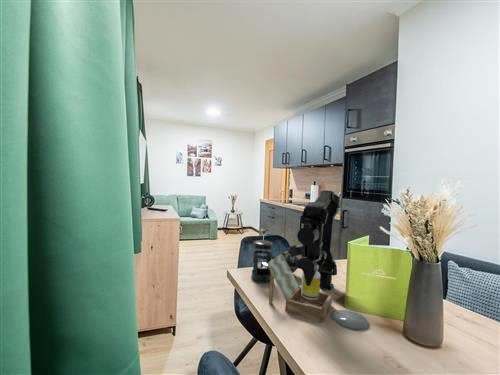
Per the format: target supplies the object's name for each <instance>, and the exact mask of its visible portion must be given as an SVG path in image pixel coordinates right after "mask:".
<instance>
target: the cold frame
mask: <svg viewBox="0 0 500 375" xmlns="http://www.w3.org/2000/svg"><path fill="white" fill-rule="evenodd" d="M267 265H268V267H269V269H270V271H271V277H270V282H269V283H270V284H269V296H268V297H269V298H268V304H269V305H272V304H273V300H274V288H275V287H274V286H275V285H274V284H275V283H276V285H277V287H278V289H279V291H280V292H281V294H282V296H283V299H284V300H285V307H284V308H285V309H284V311H285V312H287V313H290V314H293V315H296V316H300V317H303V318H306V319H310V320H312V321H315V322H318V323H322V324H323V323H324V321H325V320H326V317H327V315H328V313H329V311H330V309H331V307H332V304H333V295H332V294H329V293H326V292H321V291H320V292H319V298H318V299H315V300H310V299H306V298H304V297H303V296H302V295H301V286H300V285H299V283H298V281H297V279H296V276H295V277H294V275H293V274H294V273H292V271H291V269H290V268H289V266H288V264H287V262H286V260H285V258H284V256H283V254H282V253H280V254H279V255H278V256H275V258H274V259H273V260H272V259H271V261H269V262H268V263H267ZM299 299H303V300H305V301H310V302H313V303H316V304H321V305H322V306H321V308H320V307H316V306H313V305H309V304H306V303H302V302H299V301H298V300H299Z"/></svg>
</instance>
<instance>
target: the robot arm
mask: <svg viewBox="0 0 500 375" xmlns="http://www.w3.org/2000/svg"><path fill="white" fill-rule="evenodd" d="M341 206H342V200H341V197H340V196H338V194H336V193H335V192H334V191H333V190H325V189H324V190H321V191H320V194H319V195H318V197H317V198H316V200H315V201H312V202H309V203H307V204H306V206H304V209H303V212H302V215H301V218H300V222H299V223H300V224H301V225H302V224H303V227H301V228H300V229H299V230H298V232H297V233H296V234H297V235H296V237H297V240H298V241H299V243H300V244H297V245H295V244H294V245H290V246H289V248H287V249H288V251H287V252H288V253H289V254H290V255H291V257H294V256H297V257H299V256H301V258H298V259H299V260H298V261H297V262H296V268H297V269H301V271H302V272H304V276H305V281H306V285H307V286H310V284H311V282H312V280H313V278H314V275H315V273H316V271H318V272H319V273H320V288H321V289H324V290H328V291H331V290H332V289H333V287H334V283H332V282H333V281H332V279H333V276H337V275H338V268H337V262H336V261H335V259H336V258H335V255H334V252H333V251H332V249H333V240H334V238H333V237H334V228H335V227H334V226H335V217H337V215H338V214H339V212H340V209H341ZM317 264H318V270H317Z"/></svg>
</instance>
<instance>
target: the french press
mask: <svg viewBox="0 0 500 375" xmlns="http://www.w3.org/2000/svg"><path fill="white" fill-rule="evenodd" d="M259 231H261V232H262V234H263V237H262V239H261V240H259V239H258V240H257V239H256V240H253V244H254V248H255V249H256V250H254V251H253V252H252V257H253V264H252V266H253V267H252V270H251V276H250V279H251V281H253V282H255V283H261V284H266V283H270V277H271V271H270V269H269V267H268V265H267V263H268V262H269V261H271V260H273V259H274V258H276V256H273V252H271V251H269V250H272V249H273V245H274V242H273V241H269V240H265V234H266V232H269V229H267V228H261V229H260V228H259ZM257 249H258V250H257ZM264 254H265V255H264ZM259 259H261V261H259ZM264 260H266V262H265V261H264ZM263 261H264V262H263Z"/></svg>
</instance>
